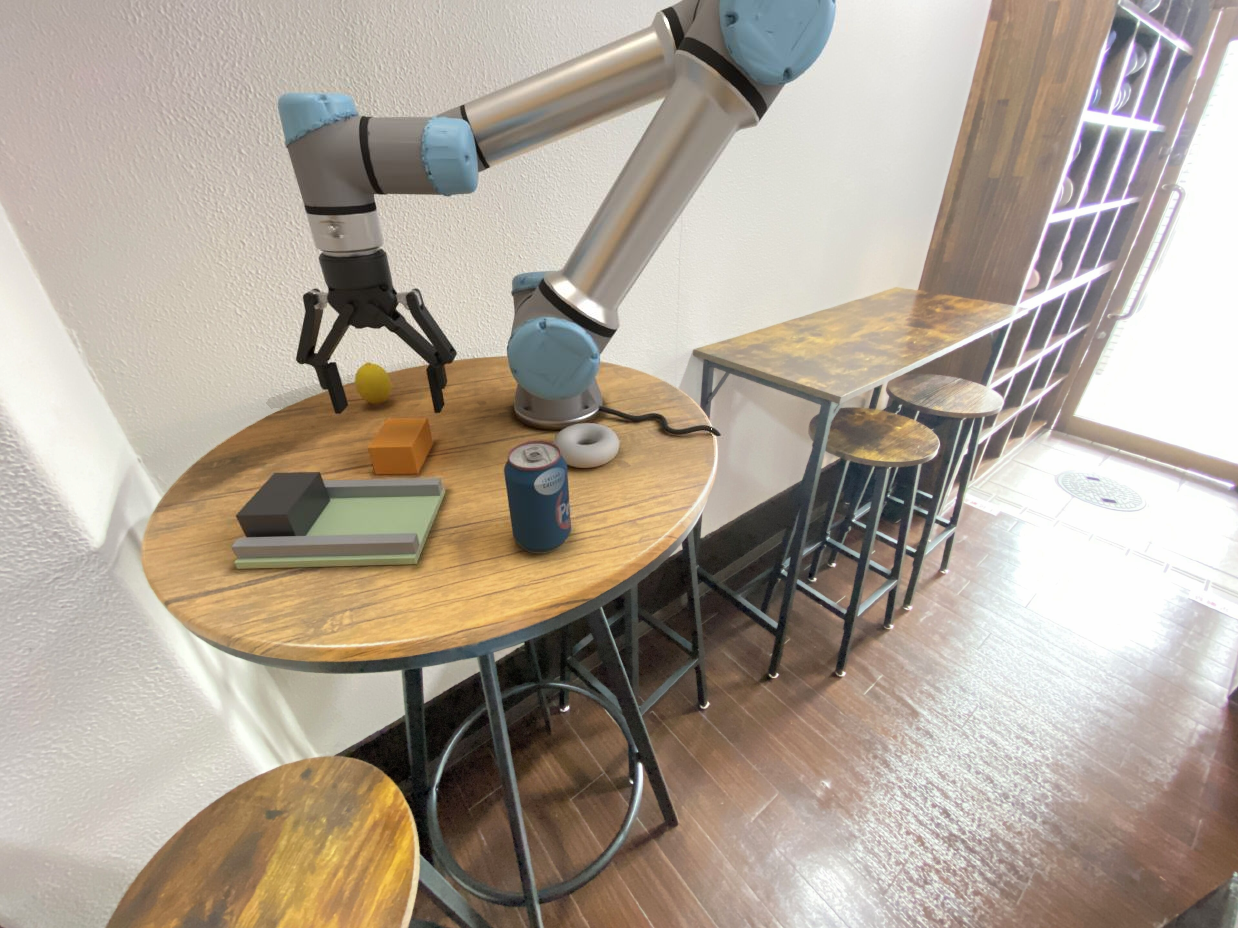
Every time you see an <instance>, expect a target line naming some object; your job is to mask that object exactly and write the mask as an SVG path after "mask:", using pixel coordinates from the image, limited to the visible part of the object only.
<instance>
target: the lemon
mask: <svg viewBox="0 0 1238 928" xmlns="http://www.w3.org/2000/svg"><path fill="white" fill-rule="evenodd" d="M354 379H355V387H356V390H357V392H358V394H359V396H360V397H361V398H362V400H364V401H365V402H367V403H370V404H374V405H376V406H381V405H382V404H383V403H385V401H387V400H388V399H389V397H390V396H391V394H392V381H391V378H390V376H389V374H388V372H387V370H385V369H384V368H383V367H382V366H381V365H379V364H376V363H372V362H370V361H368V362H365V363H364V364H363V365H361V366H360V367H359V368H358V369H357V371H356V373H355V376H354Z"/></svg>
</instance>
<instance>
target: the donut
mask: <svg viewBox="0 0 1238 928" xmlns="http://www.w3.org/2000/svg"><path fill="white" fill-rule="evenodd" d="M552 443H553V444H555V445H556V446H558V447H559V449H560V451H561V455H562V456H563V458H564V459H565V461H566V463H567V466H569V467H574V468H580V469H591V468H597V467H601V466H604V465H606V464H607V463H609V462H610V461H612V460H613V459H614V458H615V457H616V455H617V454H618V453H619V450H620V449H619V448H620V444H621V443H620V440H619V438H618V435H617V434H616V432H615V431H614V430H613V429H611V428H610V427H608V426H606V425H603V424H600V423H594V422H593V423H592V422H589V423H581V424H575V425H571V426H568V427H566V428H564V429H560V431H559V432H558V433H556V434H555V436H554V439H553V442H552Z"/></svg>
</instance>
